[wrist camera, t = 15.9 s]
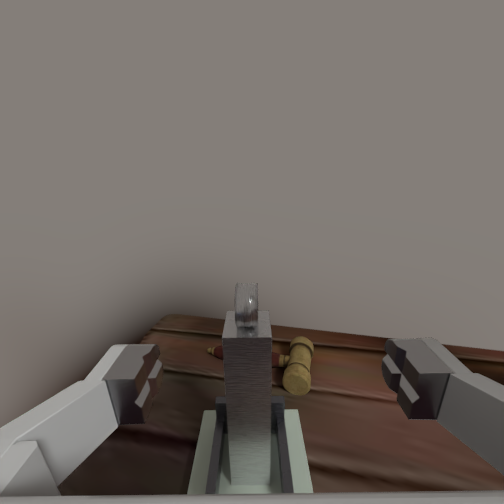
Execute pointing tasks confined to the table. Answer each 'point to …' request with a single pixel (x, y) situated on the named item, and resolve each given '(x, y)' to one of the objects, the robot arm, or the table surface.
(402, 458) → the table surface
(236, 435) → the steel link
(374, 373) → the table surface
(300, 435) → the keeper bracket
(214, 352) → the gavel
